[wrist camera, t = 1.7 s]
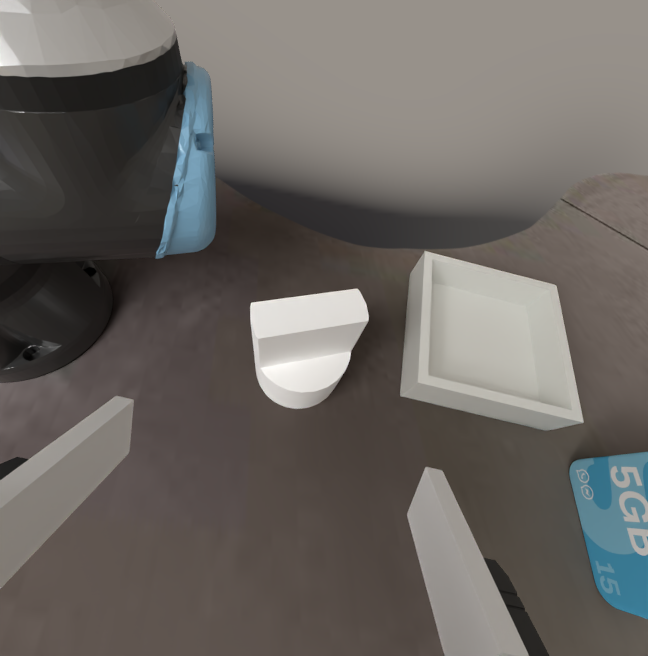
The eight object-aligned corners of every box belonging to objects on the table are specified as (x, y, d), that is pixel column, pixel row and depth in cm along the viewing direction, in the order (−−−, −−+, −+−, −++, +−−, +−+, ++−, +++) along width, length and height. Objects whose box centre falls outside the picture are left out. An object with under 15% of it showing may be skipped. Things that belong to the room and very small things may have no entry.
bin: (399, 395, 35) (417, 382, 31) (409, 274, 43) (424, 250, 39) (546, 431, 36) (583, 422, 31) (528, 305, 44) (556, 285, 39)
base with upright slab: (327, 324, 38) (350, 258, 27) (348, 398, 34) (384, 355, 23) (250, 337, 35) (241, 270, 25) (263, 417, 32) (260, 379, 21)
